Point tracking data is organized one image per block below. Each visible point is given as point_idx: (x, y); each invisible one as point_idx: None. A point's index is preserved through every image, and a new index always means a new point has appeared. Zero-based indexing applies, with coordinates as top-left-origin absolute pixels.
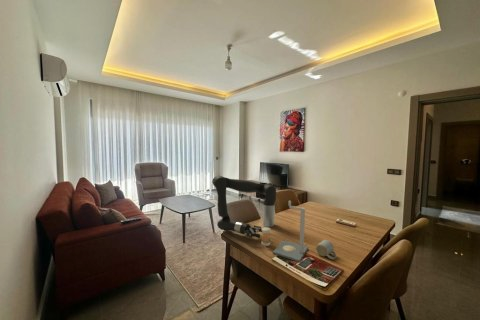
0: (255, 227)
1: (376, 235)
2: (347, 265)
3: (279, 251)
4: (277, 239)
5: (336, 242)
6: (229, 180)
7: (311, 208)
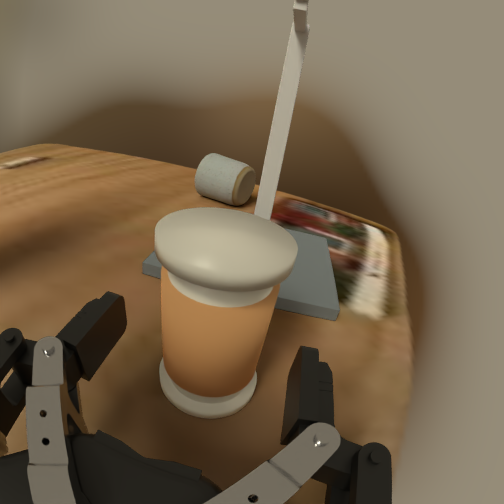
0: (38, 424)
1: (97, 151)
2: None
3: (312, 284)
4: None
5: (132, 177)
6: None
7: None
